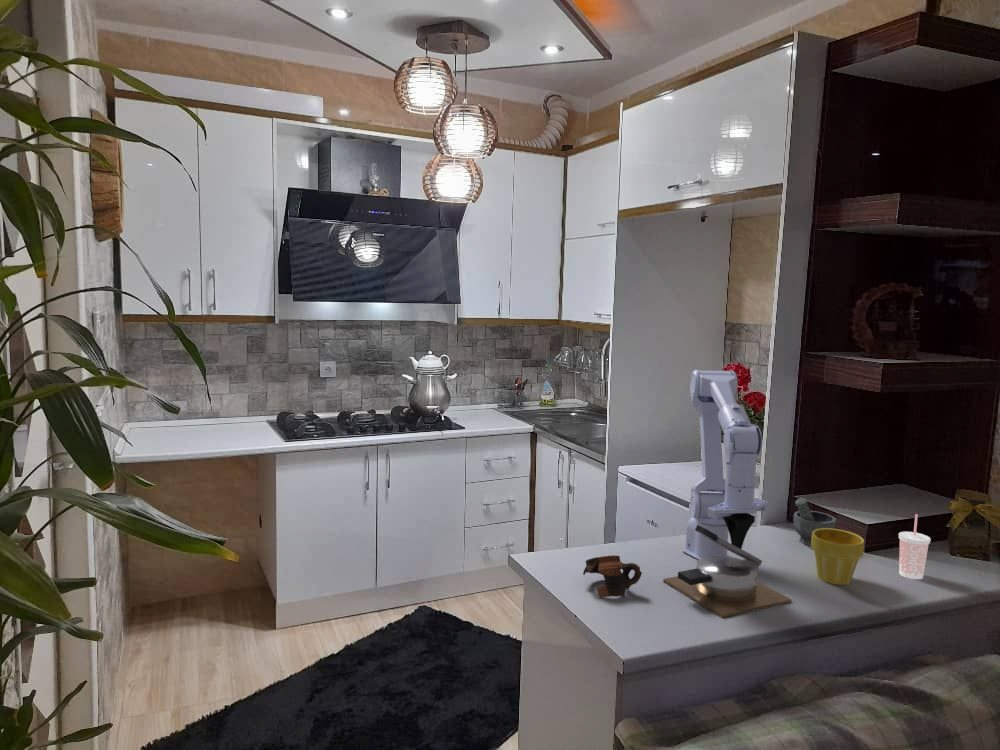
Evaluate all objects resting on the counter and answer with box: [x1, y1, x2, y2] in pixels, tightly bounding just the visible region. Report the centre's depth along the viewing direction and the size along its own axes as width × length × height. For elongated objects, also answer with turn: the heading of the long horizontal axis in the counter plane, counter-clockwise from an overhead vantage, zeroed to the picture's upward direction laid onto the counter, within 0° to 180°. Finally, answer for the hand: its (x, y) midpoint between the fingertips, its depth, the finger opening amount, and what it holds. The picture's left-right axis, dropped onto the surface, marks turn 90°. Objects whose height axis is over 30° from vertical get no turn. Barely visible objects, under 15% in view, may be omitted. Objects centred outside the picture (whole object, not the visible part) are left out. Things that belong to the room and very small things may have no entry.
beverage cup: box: [898, 513, 932, 580], centre depth 156 cm, size 6×6×14 cm
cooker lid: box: [695, 525, 763, 567], centre depth 145 cm, size 17×13×1 cm
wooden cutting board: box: [662, 556, 793, 619], centre depth 145 cm, size 18×20×5 cm
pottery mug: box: [582, 554, 643, 598], centre depth 146 cm, size 12×10×8 cm
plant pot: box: [810, 528, 865, 586], centre depth 153 cm, size 10×10×10 cm
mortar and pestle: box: [792, 497, 837, 547], centre depth 174 cm, size 11×9×12 cm
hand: (736, 547), depth 146 cm, fingers closed, pressing on cooker lid
